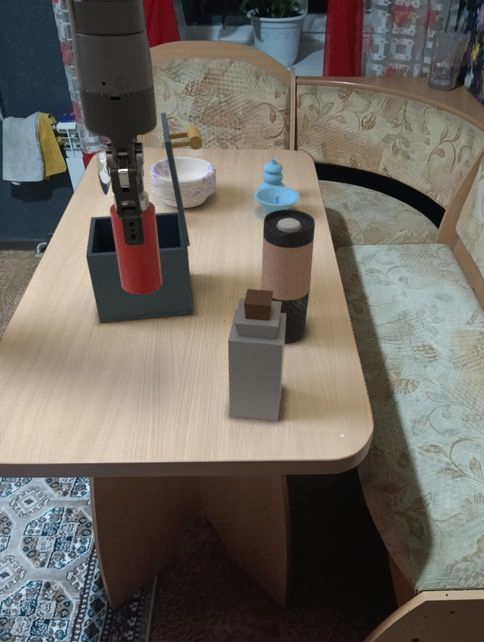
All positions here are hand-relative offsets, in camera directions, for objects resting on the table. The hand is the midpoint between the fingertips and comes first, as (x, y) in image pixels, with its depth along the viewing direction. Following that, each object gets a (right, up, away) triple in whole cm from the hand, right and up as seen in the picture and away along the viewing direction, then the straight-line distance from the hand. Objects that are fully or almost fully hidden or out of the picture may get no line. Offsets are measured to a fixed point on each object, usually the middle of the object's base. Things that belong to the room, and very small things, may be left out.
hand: (135, 231), depth 66 cm
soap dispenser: (+18, +19, +63) cm, 68 cm away
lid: (+1, +12, +20) cm, 23 cm away
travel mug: (+19, -11, +25) cm, 34 cm away
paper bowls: (-3, +21, +64) cm, 68 cm away
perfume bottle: (+15, -22, +12) cm, 29 cm away
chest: (-6, -5, +32) cm, 33 cm away
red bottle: (0, -6, +5) cm, 7 cm away
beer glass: (-15, +13, +54) cm, 58 cm away
